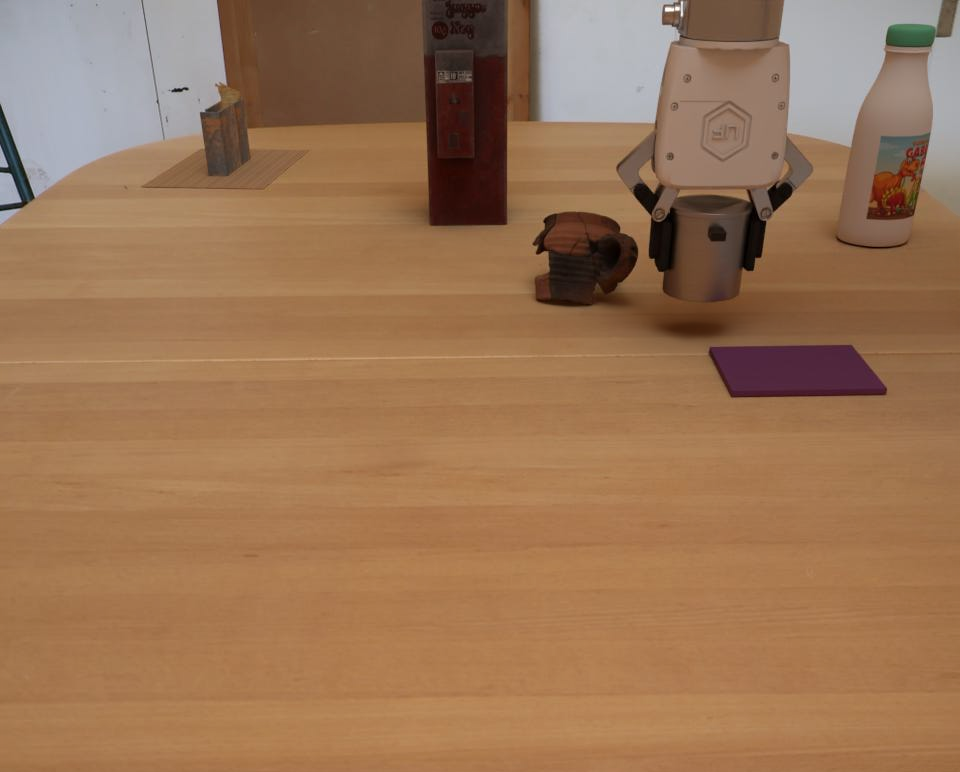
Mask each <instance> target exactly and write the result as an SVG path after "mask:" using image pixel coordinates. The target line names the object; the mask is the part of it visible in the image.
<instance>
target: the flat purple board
mask: <svg viewBox="0 0 960 772" xmlns="http://www.w3.org/2000/svg"><path fill="white" fill-rule="evenodd" d="M708 347H709V349H708V353H709V355H710V358H711V359H712V361H713V363H714V365H715V367H716V369H717V372H718V373H719V375H720V377H721V379H722V381H723V383H724V385H725V387H726V389H727V390H728V392H729V394H730V396H731V397H732V398H733V397H734V398H737V397H738V398H739V397H796V396H797V397H798V396H800V397H801V396H803V397H805V396H808V397H809V396H860V395H861V396H867V395H887V392H888V387H887V386H886V385H885V383H884V382H883V381H882V380H881V378H879V376H878V375H877V374H876V373H875V371H874V370H873V369H872V368H871V367H870V365H869V364H868V363H867V362H866V360H865V359H864V358H863V357H862V356H861V355H860V353H859V352H858V350H856V348H855V347H854V346H853V344H812V345H809V344H808V345H743V346H742V345H739V346H738V345H737V346H734V345H733V346H708Z"/></svg>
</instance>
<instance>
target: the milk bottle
mask: <svg viewBox="0 0 960 772" xmlns="http://www.w3.org/2000/svg"><path fill="white" fill-rule="evenodd" d="M936 32H937V28H936V26H935V25H931V24H924V23H895V24H890V25H889V26H888V28H887V30H886V36H885V45H884V48H883V50H884V53H885V55H884V60H883V63H882V65H881V68H880V70H879V73H878V74H877V76H876V78H875V80H874V82H873V84H872V86H871V87H870V89H869V90H868V93H867V94H866V96H865V98H864V99H863V101H862V104H861V106H860V108H859V110H858V114H857V117H856V120H855V125H854V131H853V135H852V139H851V145H850V149H849V150H850V151H849V154H848V155H849V156H848V161H847V165H846V166H847V167H846V172H845V178H844V184H843V189H842V195H841V201H840V207H839V212H838V219H837V225H836V226H837V227H836V237H837V239H839V240H840V241H842V242H845V243H848V244H851V245H856V246H862V247H863V246H864V247H877V248H881V247H896V246H899V245H900V246H901V245H903V244H905V243H906V242H907V241H908V239H909V238H910V235H911V231H912V227H913V226H912V225H913V221H914V218H915V214H916V209H917V203H918V199H919V194H920V189H921V184H922V180H923V175H924V170H925V165H926V161H927V155H928V150H929V145H930V140H931V134H932V129H933V128H932V127H933V121H934V120H933V119H934V105H933V98H932V92H931V87H930V83H929V73H928V62H929V61H928V60H929V56H930V53H932V52H933V45H934V43H935V38H936V34H937V33H936Z"/></svg>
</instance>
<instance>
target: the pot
mask: <svg viewBox="0 0 960 772" xmlns="http://www.w3.org/2000/svg"><path fill="white" fill-rule="evenodd" d="M752 209H753V205H752V204H751V203H750V201H749V200H746V199H743V198H741V197H736V196H731V195H726V194H725V195H723V194H713V193H712V194H709V193H703V194H702V193H699V194H687V195H686V194H685V195H679V196H677V197H676V199H675V201H674V203H673V205H672V207H671V208H670V210H669V220H670V221H671V223H672V230H671V240H670V251H669V261H668V270H665V272H663V277H662V288H661V289H662V292H663V293H664V294H665V295H666V296H667V297H669V298H670V297H671V298H673V299H676V300H680V301H684V302H685V301H686V302H692V303H693V302H694V303H720V302H727V301H731V300H732V299H735V298H737V297H738V296H739V295H740V291H741V285H742V278H743V270H744V268H743V262H744V255H745V247H746V240H747V232H748V225H749V217H750V213H751V212H752Z"/></svg>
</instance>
